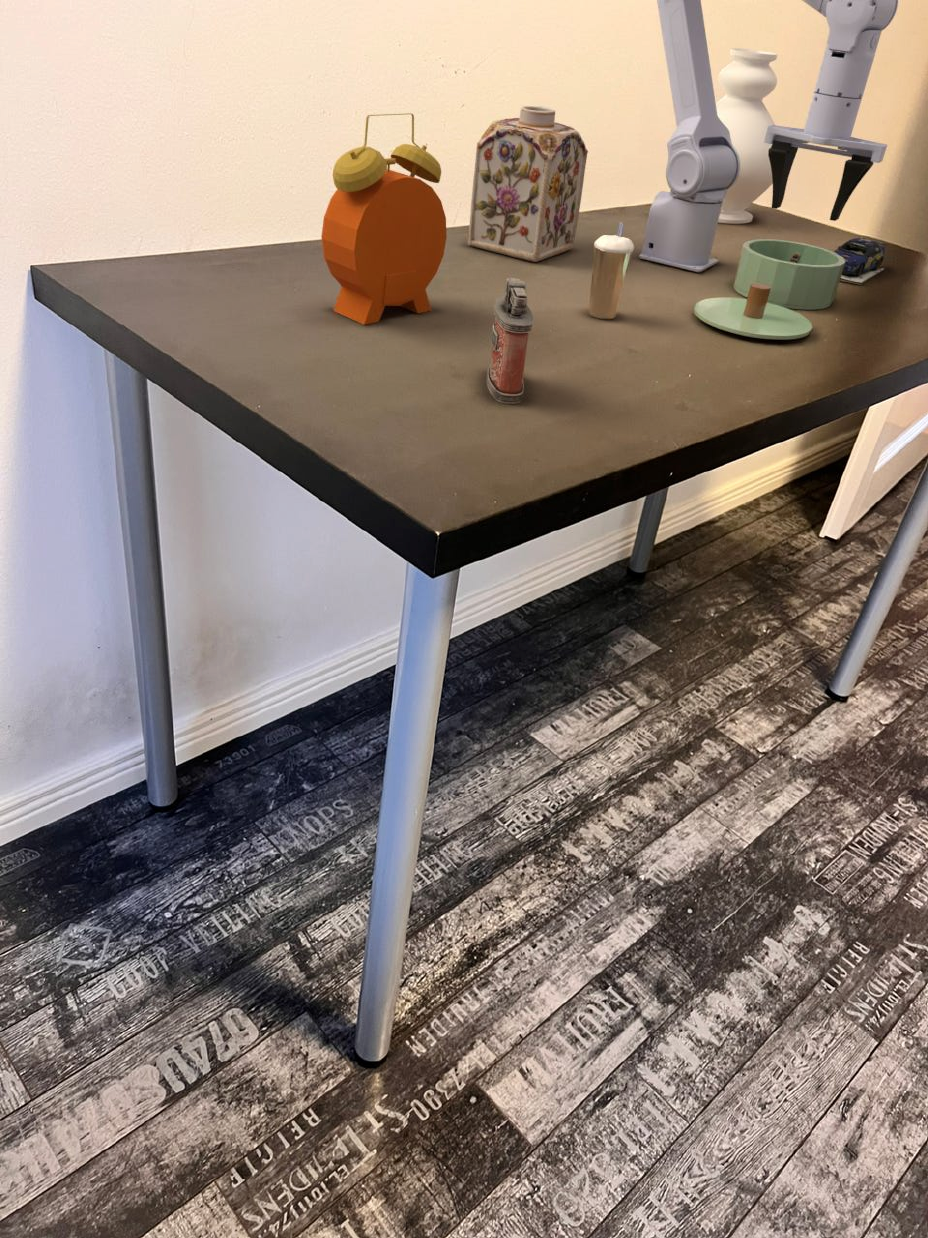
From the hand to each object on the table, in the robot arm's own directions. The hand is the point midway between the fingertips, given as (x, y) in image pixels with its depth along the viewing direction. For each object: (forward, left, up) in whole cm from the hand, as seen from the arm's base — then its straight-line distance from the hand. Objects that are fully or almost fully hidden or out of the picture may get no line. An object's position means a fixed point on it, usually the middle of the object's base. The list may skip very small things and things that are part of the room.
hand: (804, 213), depth 123 cm
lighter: (-11, -57, -11) cm, 59 cm away
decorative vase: (-24, +41, -11) cm, 49 cm away
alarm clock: (-33, -47, -11) cm, 58 cm away
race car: (+4, +22, -11) cm, 24 cm away
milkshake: (-14, -28, -11) cm, 33 cm away
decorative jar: (-36, -9, -11) cm, 39 cm away
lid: (+1, -17, -10) cm, 20 cm away
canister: (0, 0, -10) cm, 10 cm away
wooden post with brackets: (0, -1, -10) cm, 10 cm away
